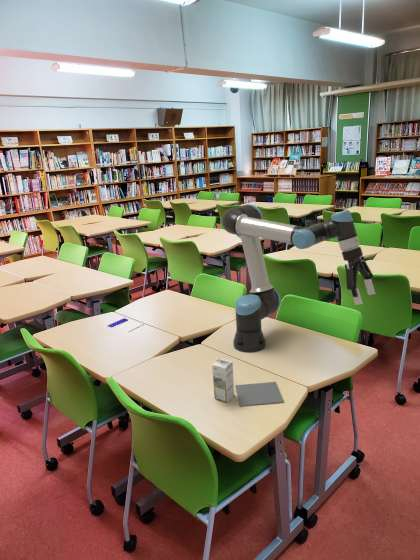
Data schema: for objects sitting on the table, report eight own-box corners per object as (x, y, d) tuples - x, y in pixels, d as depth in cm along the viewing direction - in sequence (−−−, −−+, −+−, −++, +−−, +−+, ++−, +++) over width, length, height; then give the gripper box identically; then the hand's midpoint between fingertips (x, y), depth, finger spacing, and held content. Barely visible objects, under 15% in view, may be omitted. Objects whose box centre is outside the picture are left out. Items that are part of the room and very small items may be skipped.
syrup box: (234, 395, 158) (233, 360, 154) (227, 403, 154) (225, 367, 150) (221, 391, 162) (219, 357, 157) (213, 399, 157) (211, 364, 153)
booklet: (138, 336, 217) (138, 335, 217) (107, 326, 232) (107, 325, 232) (155, 327, 226) (155, 326, 226) (124, 319, 241) (124, 318, 241)
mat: (235, 386, 165) (235, 385, 164) (275, 382, 165) (275, 381, 165) (240, 406, 151) (240, 405, 151) (284, 402, 152) (284, 401, 152)
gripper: (346, 253, 156) (362, 307, 157) (371, 240, 174) (385, 289, 175) (328, 257, 161) (344, 309, 163) (354, 244, 179) (368, 291, 181)
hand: (365, 299), depth 169 cm, fingers open, 13 cm apart
